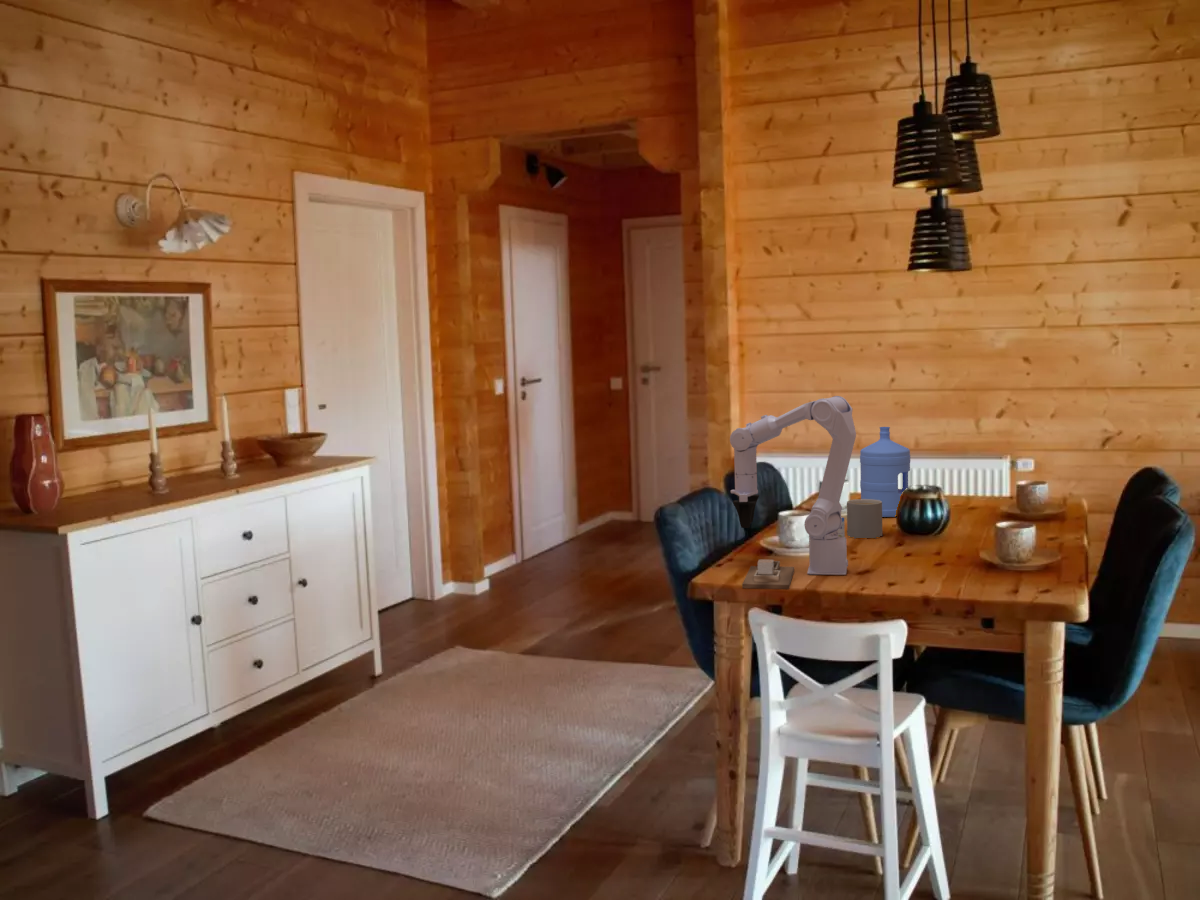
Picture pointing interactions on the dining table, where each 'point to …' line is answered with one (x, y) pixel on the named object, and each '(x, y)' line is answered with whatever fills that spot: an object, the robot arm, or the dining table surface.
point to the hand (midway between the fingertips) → (746, 525)
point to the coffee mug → (864, 518)
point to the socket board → (769, 578)
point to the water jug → (884, 472)
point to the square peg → (765, 567)
